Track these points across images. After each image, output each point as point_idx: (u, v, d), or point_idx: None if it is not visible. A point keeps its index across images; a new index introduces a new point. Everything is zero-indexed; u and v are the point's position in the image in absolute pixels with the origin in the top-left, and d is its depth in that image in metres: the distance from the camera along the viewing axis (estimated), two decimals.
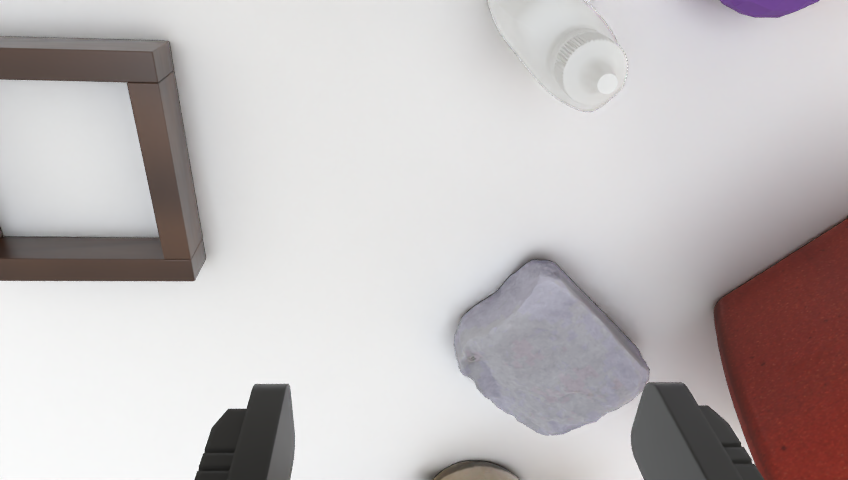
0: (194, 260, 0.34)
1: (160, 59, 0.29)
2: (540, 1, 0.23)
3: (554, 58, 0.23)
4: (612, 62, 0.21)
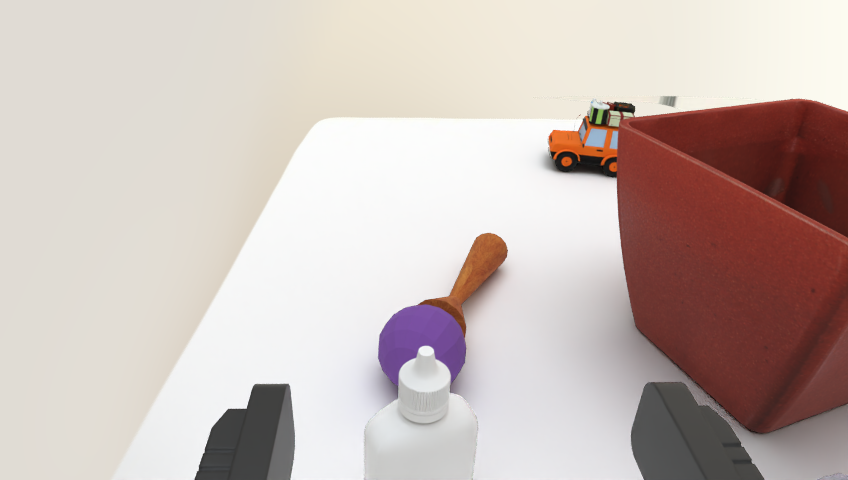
0: None
1: None
2: (371, 429, 0.28)
3: (411, 412, 0.28)
4: None
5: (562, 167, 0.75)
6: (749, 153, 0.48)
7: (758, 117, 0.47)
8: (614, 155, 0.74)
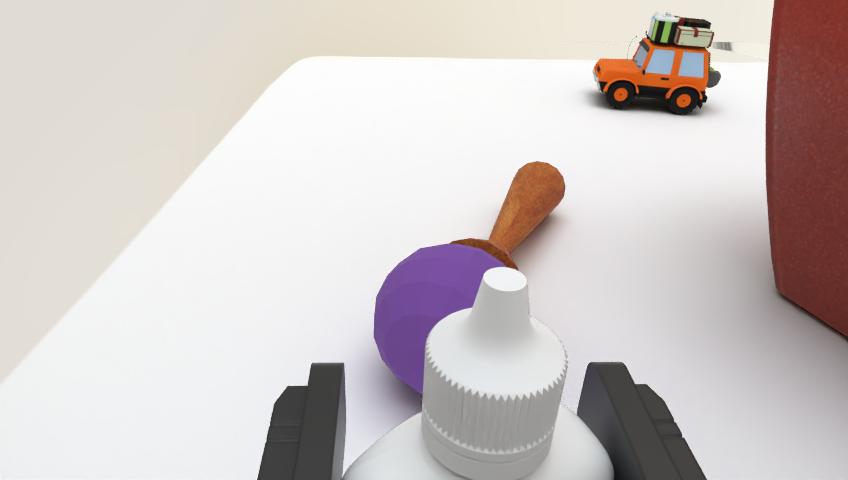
0: None
1: None
2: None
3: (460, 453, 0.10)
4: None
5: (615, 102, 0.58)
6: None
7: None
8: (684, 85, 0.56)
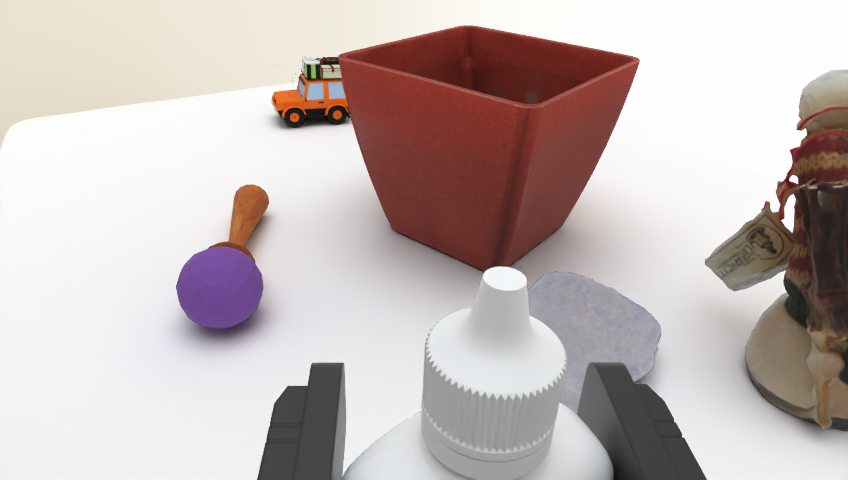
0: None
1: None
2: None
3: (459, 452, 0.10)
4: None
5: (292, 123, 0.81)
6: (439, 73, 0.60)
7: (439, 42, 0.59)
8: (334, 104, 0.82)
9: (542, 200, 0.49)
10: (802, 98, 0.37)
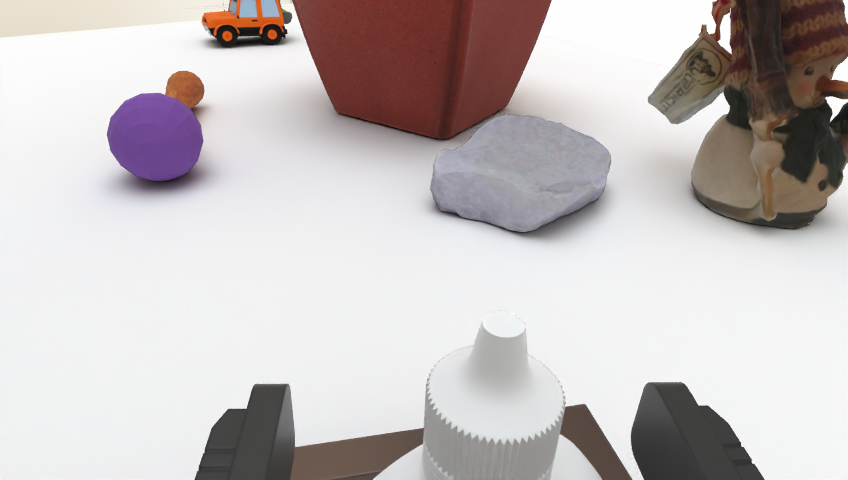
0: None
1: None
2: None
3: None
4: None
5: (225, 42, 0.78)
6: None
7: None
8: (268, 23, 0.80)
9: (487, 56, 0.49)
10: None
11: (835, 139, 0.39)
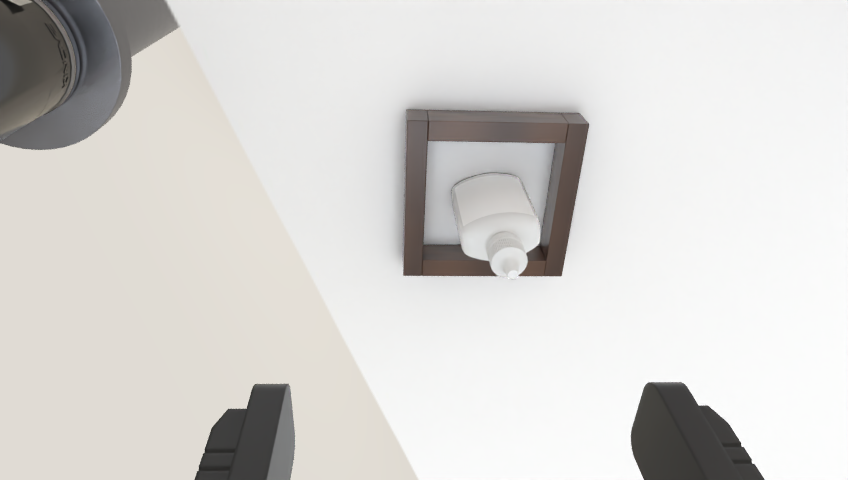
0: (572, 121, 0.43)
1: (415, 116, 0.42)
2: (464, 242, 0.41)
3: None
4: (509, 257, 0.38)
5: None
6: None
7: None
8: None
9: None
10: None
11: None
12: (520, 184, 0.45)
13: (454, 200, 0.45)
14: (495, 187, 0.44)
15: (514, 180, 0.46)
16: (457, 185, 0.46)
